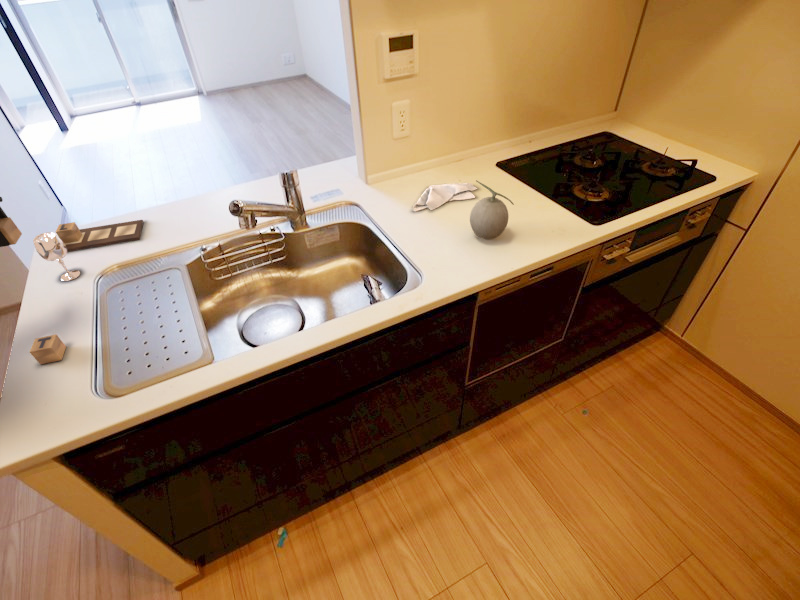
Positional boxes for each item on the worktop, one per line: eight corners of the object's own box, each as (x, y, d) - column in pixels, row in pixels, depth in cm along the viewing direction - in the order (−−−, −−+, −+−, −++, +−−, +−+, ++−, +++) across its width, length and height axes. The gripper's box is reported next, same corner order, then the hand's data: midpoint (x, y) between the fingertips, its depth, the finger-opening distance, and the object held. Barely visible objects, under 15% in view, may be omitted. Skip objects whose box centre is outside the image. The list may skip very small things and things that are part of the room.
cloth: (464, 178, 150) (465, 172, 148) (486, 196, 140) (487, 189, 139) (397, 195, 141) (397, 188, 140) (416, 214, 132) (416, 208, 131)
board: (54, 254, 119) (52, 251, 118) (63, 235, 126) (61, 232, 125) (139, 239, 124) (138, 236, 123) (143, 222, 131) (142, 219, 130)
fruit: (509, 246, 119) (519, 198, 109) (468, 244, 120) (474, 197, 110) (506, 226, 127) (515, 179, 117) (467, 224, 128) (472, 178, 118)
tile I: (-8, 247, 85) (-22, 230, 82) (0, 237, 87) (-14, 220, 85) (15, 244, 85) (2, 227, 83) (22, 233, 88) (9, 216, 86)
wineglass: (57, 285, 109) (29, 246, 101) (58, 272, 113) (31, 234, 105) (82, 278, 111) (57, 240, 103) (83, 266, 115) (58, 228, 106)
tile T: (40, 364, 90) (28, 352, 87) (45, 350, 92) (34, 338, 90) (61, 360, 91) (50, 347, 88) (66, 346, 93) (56, 333, 91)
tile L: (63, 243, 121) (55, 231, 118) (66, 236, 124) (59, 224, 121) (78, 241, 122) (71, 229, 119) (82, 233, 124) (74, 221, 122)
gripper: (-83, 138, 65) (12, 260, 81) (-35, 103, 77) (39, 215, 93) (-143, 144, 64) (-34, 267, 79) (-85, 107, 76) (0, 221, 91)
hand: (5, 239), depth 86 cm, fingers closed on tile I, 4 cm apart
